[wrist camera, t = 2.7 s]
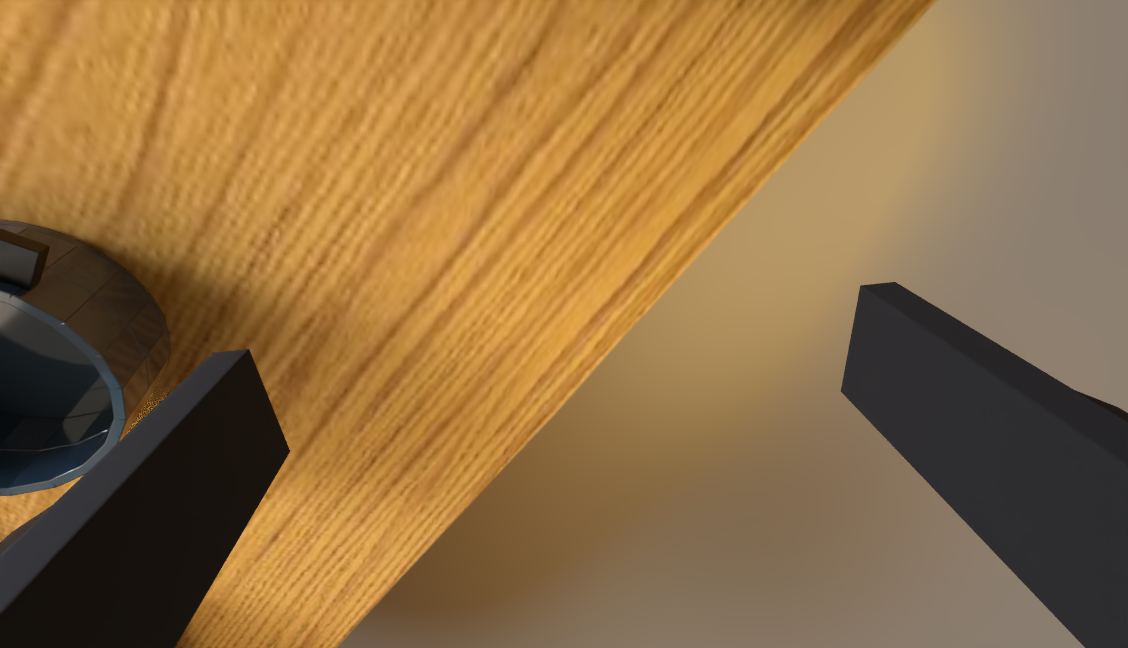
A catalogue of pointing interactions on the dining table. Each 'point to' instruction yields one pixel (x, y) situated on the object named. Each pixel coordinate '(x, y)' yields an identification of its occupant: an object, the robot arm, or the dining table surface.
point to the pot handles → (21, 260)
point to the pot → (72, 362)
